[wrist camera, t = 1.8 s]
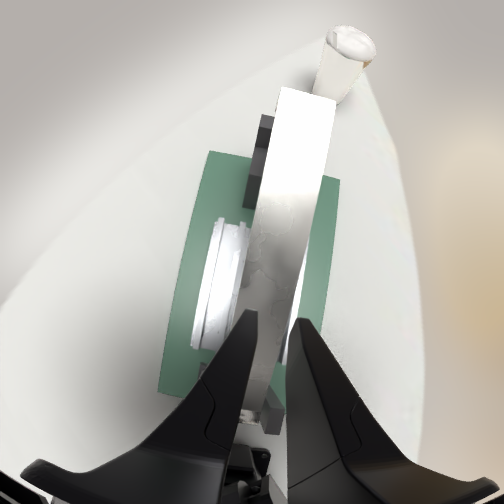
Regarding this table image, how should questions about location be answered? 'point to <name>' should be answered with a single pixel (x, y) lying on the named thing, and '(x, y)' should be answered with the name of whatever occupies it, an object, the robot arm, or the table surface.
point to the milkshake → (342, 62)
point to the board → (195, 255)
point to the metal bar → (281, 230)
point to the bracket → (265, 409)
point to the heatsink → (229, 289)
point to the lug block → (258, 162)
